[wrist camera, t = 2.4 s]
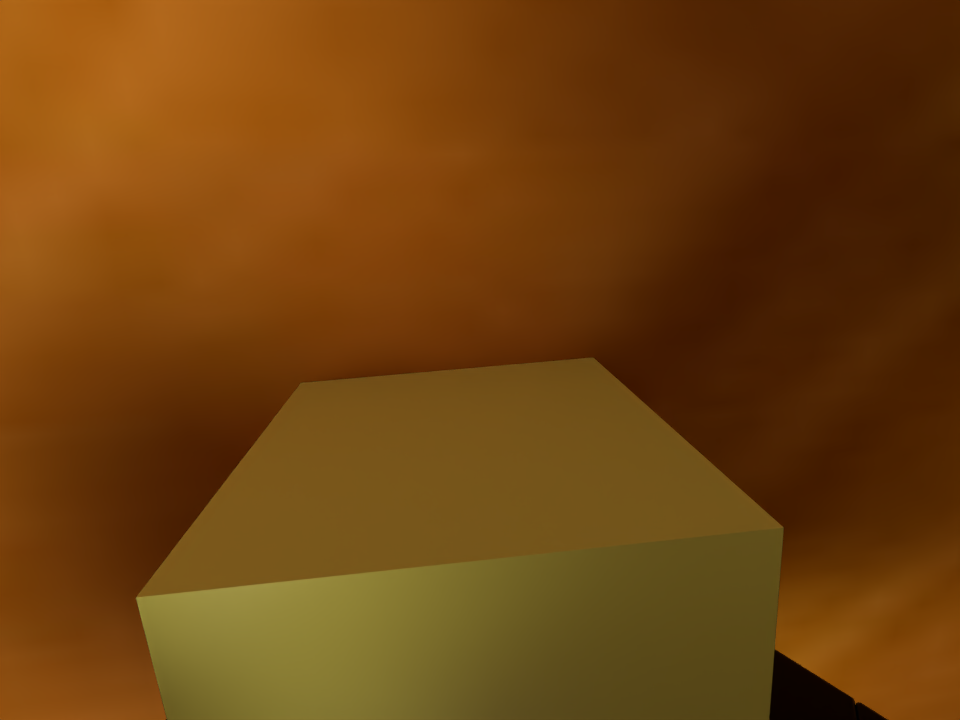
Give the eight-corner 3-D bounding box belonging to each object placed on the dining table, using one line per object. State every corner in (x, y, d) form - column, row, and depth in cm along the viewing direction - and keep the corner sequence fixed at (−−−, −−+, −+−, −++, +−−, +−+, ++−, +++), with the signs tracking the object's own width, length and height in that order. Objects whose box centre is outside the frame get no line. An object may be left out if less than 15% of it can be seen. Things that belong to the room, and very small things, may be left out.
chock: (599, 718, 11) (737, 1134, 6) (357, 749, 10) (292, 1212, 6) (592, 357, 9) (784, 527, 4) (300, 383, 9) (135, 596, 4)
